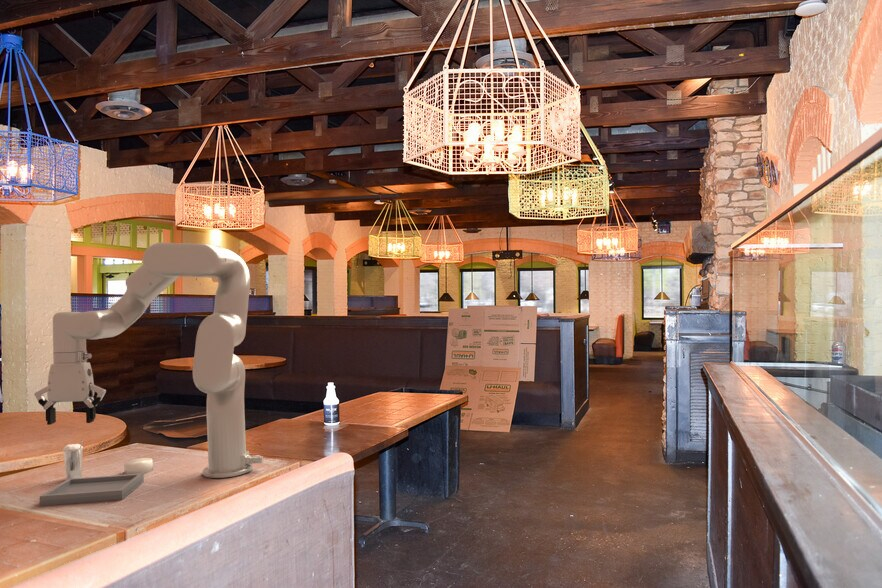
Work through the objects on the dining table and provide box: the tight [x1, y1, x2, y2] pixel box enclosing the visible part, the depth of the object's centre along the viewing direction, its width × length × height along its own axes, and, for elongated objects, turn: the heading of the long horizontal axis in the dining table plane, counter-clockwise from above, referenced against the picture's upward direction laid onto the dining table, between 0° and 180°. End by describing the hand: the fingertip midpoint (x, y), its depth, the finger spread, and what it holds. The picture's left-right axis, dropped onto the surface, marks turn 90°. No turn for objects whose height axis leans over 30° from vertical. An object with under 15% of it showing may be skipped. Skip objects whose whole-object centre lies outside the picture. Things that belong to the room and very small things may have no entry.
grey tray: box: [39, 473, 145, 507], centre depth 150 cm, size 18×14×2 cm
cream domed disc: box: [123, 457, 154, 475], centre depth 168 cm, size 7×7×3 cm
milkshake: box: [62, 440, 84, 480], centre depth 164 cm, size 4×5×10 cm
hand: (70, 422), depth 164 cm, fingers open, 9 cm apart
